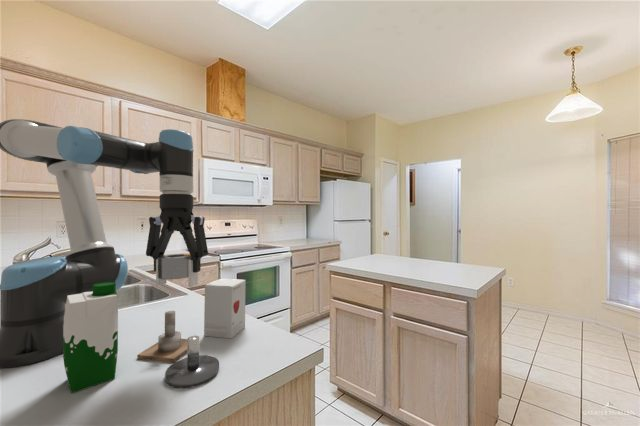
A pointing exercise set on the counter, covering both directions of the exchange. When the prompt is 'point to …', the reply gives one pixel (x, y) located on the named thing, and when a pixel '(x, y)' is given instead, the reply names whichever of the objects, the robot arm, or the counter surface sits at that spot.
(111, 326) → the milk carton
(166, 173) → the robot arm
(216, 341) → the counter surface
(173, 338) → the stand
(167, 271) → the clutch ring
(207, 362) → the disc
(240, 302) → the supplement box
